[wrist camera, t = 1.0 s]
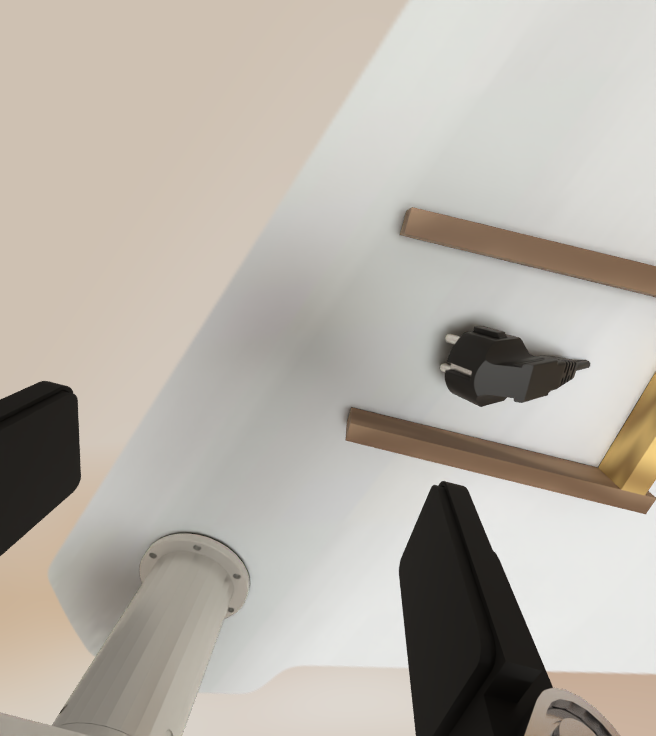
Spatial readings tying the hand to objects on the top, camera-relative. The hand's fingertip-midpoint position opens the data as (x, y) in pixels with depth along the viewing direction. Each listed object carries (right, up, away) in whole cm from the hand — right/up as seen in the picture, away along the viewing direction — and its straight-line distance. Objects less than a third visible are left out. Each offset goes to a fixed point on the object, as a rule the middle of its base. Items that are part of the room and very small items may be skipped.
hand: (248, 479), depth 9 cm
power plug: (+17, +4, +20) cm, 27 cm away
